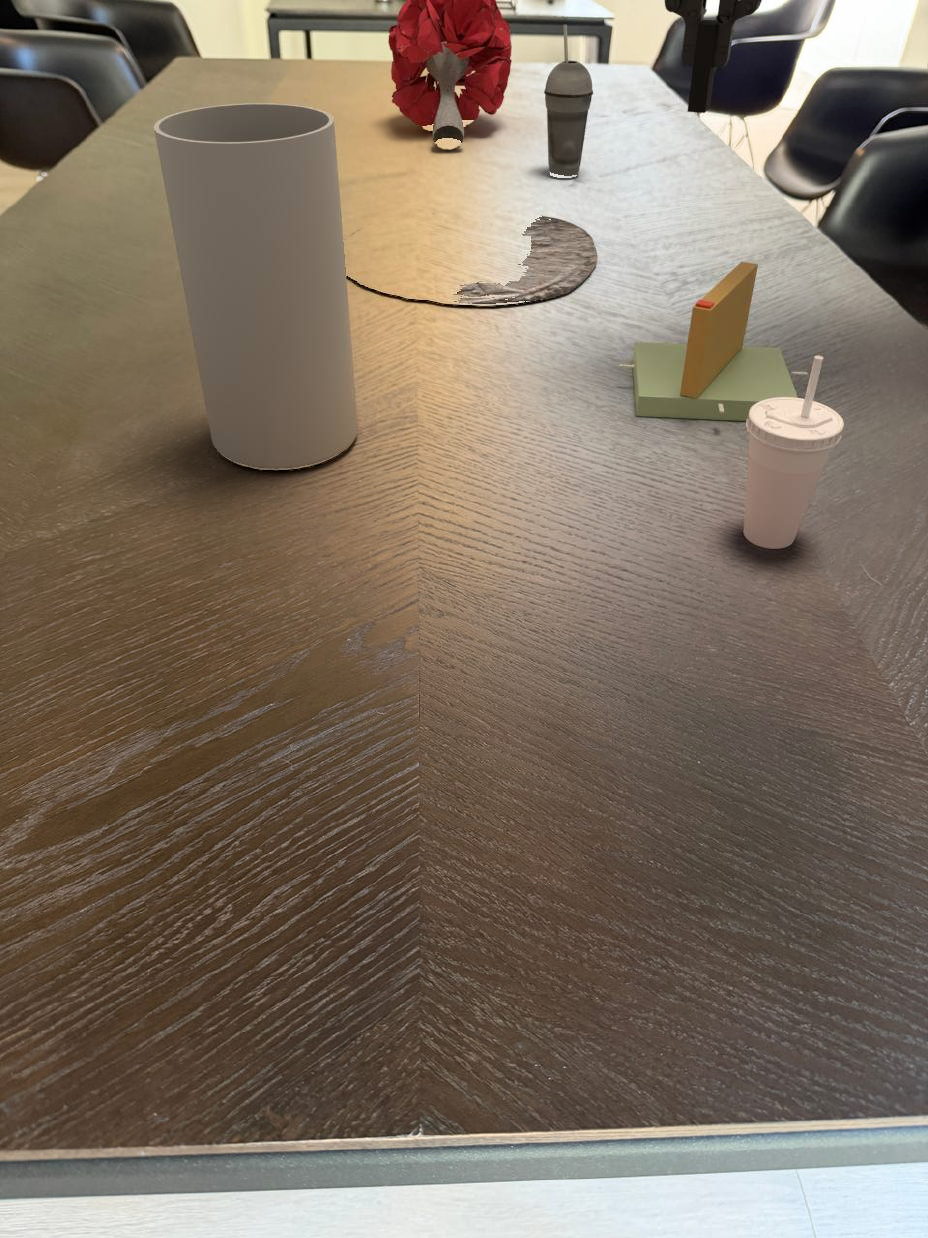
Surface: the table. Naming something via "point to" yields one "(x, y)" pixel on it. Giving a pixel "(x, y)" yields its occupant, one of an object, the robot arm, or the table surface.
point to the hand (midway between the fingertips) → (698, 108)
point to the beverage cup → (567, 114)
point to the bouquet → (449, 62)
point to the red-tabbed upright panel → (717, 329)
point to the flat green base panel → (724, 397)
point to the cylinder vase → (264, 277)
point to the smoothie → (786, 462)
